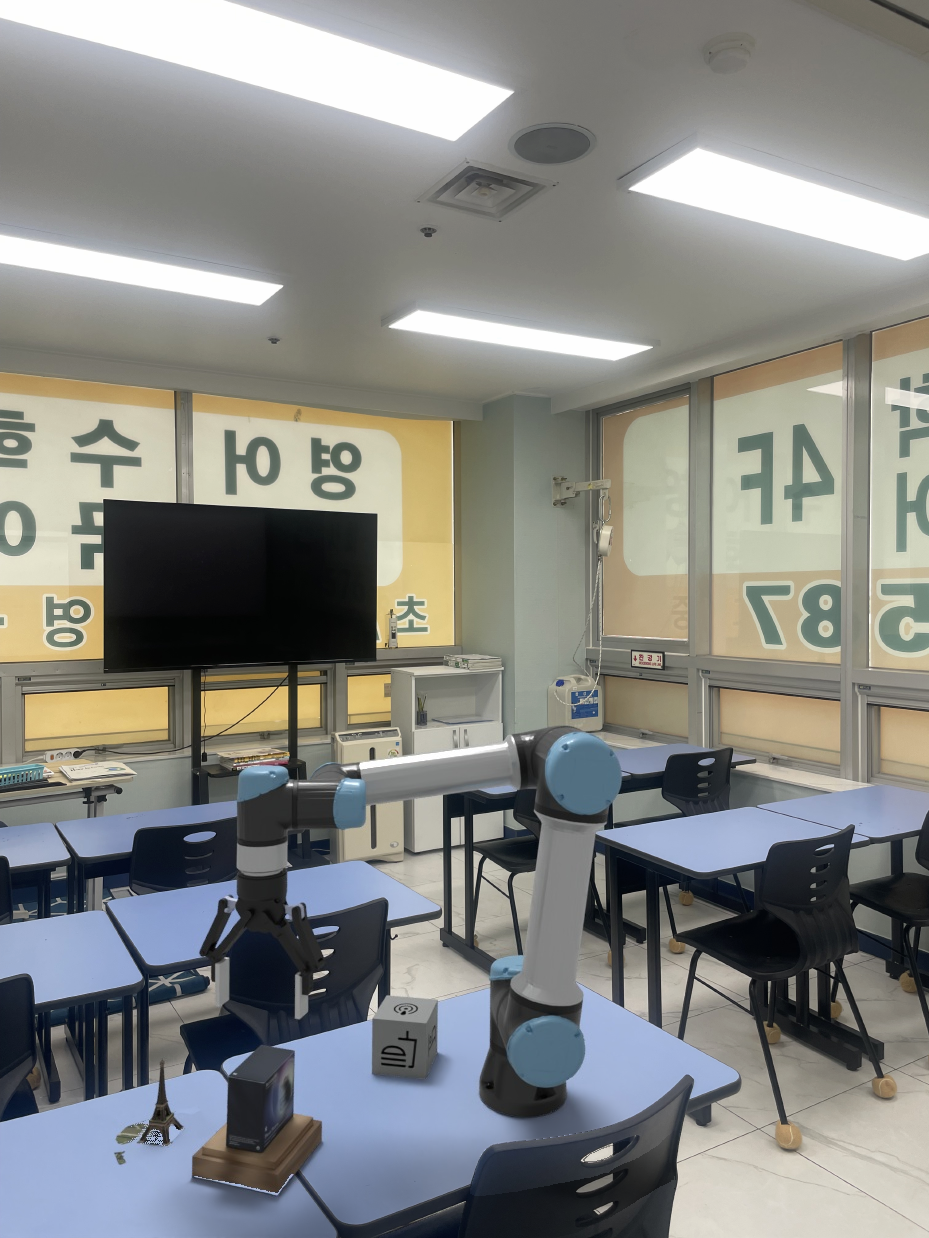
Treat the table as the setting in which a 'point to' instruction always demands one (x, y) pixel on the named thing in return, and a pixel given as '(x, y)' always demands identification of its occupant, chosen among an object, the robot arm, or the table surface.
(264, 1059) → the small box
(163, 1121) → the eiffel tower figurine
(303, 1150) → the plinth
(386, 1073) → the icon cube
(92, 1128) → the table surface
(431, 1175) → the table surface
